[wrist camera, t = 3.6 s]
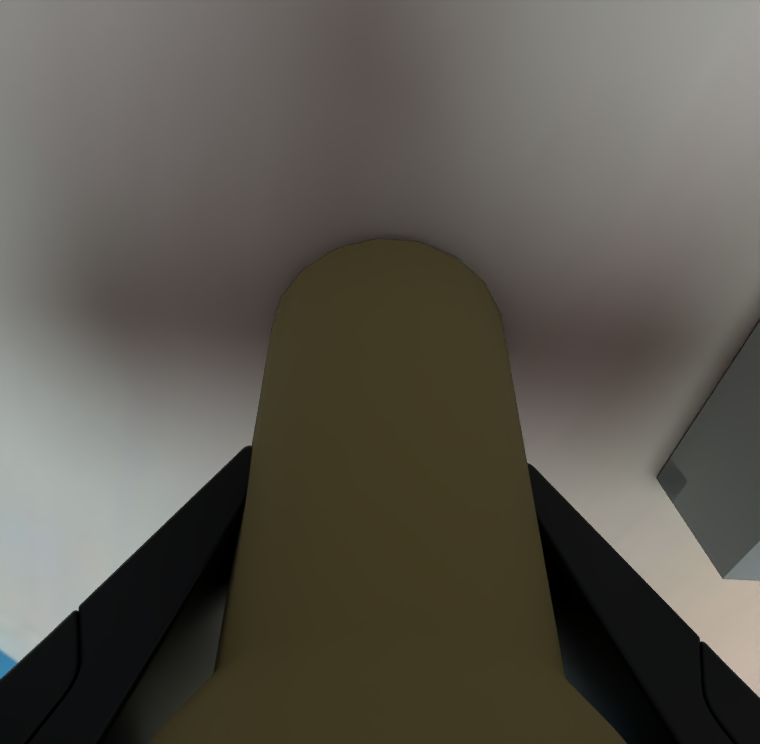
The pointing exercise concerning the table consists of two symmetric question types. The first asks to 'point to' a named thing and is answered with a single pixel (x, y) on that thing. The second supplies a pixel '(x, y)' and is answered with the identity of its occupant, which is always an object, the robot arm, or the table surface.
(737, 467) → the caddy
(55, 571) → the table surface
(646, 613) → the robot arm
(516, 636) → the olive rounded piece
